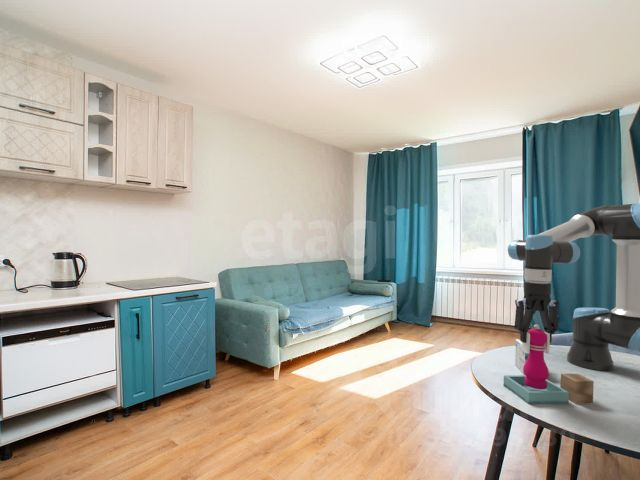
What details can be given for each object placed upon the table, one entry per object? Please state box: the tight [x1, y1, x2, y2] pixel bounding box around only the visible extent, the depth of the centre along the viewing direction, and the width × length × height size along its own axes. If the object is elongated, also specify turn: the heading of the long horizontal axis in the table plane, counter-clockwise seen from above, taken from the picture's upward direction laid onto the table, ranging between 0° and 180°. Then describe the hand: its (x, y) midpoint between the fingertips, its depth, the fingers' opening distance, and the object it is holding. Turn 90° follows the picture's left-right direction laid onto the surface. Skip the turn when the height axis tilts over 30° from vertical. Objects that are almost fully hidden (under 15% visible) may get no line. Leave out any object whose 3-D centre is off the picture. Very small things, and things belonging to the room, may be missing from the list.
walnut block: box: [559, 373, 595, 405], centre depth 111 cm, size 6×6×7 cm
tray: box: [502, 374, 570, 405], centre depth 113 cm, size 13×13×4 cm
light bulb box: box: [514, 338, 545, 375], centre depth 134 cm, size 11×7×11 cm, turn 168°
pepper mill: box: [523, 324, 550, 389], centre depth 113 cm, size 7×7×20 cm
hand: (535, 352), depth 113 cm, fingers closed on pepper mill, 6 cm apart
